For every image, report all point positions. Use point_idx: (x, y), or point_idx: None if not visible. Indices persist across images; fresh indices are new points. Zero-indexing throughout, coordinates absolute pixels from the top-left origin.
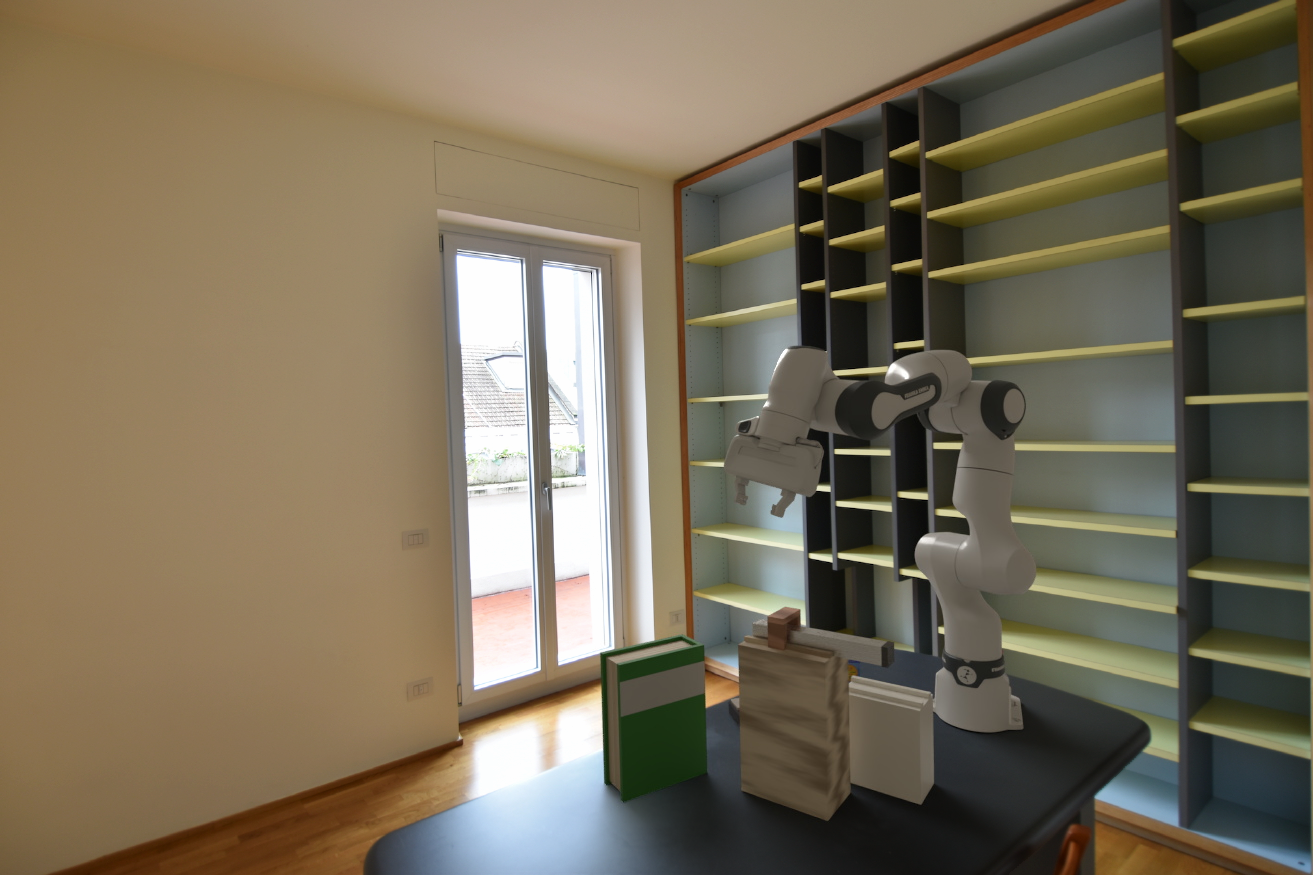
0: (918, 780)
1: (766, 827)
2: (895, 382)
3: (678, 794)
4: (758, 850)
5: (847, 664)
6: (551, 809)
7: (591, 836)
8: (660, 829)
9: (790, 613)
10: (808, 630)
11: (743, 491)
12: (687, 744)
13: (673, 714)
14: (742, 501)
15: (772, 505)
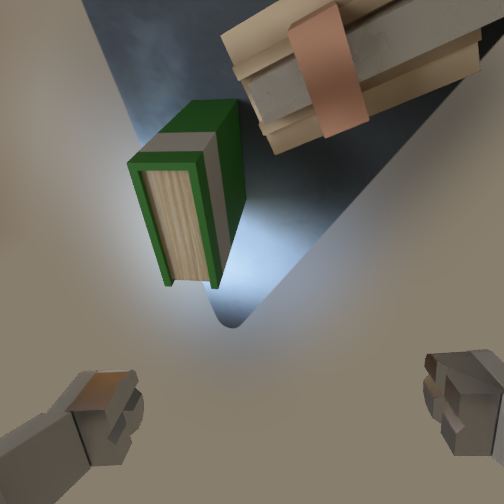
0: None
1: None
2: None
3: (260, 151)
4: (383, 137)
5: None
6: None
7: (277, 237)
8: (300, 192)
9: (347, 67)
10: (398, 36)
11: (49, 447)
12: (232, 140)
13: (226, 177)
14: (126, 401)
15: (450, 447)
